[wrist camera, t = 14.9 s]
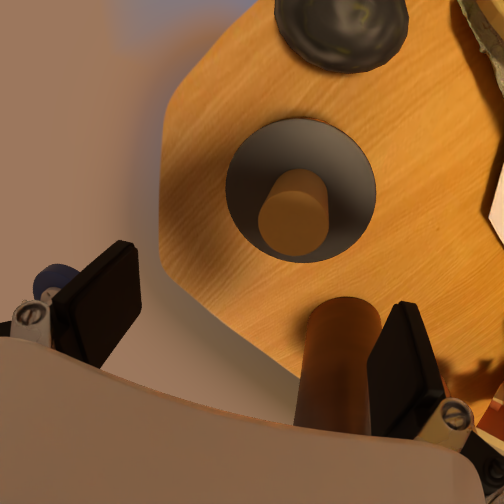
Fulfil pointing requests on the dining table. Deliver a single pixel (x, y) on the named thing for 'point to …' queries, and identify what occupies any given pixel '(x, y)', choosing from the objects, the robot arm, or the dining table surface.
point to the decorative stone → (343, 31)
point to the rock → (485, 38)
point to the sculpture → (494, 14)
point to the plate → (498, 207)
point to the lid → (300, 190)
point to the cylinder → (337, 367)
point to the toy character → (494, 422)
